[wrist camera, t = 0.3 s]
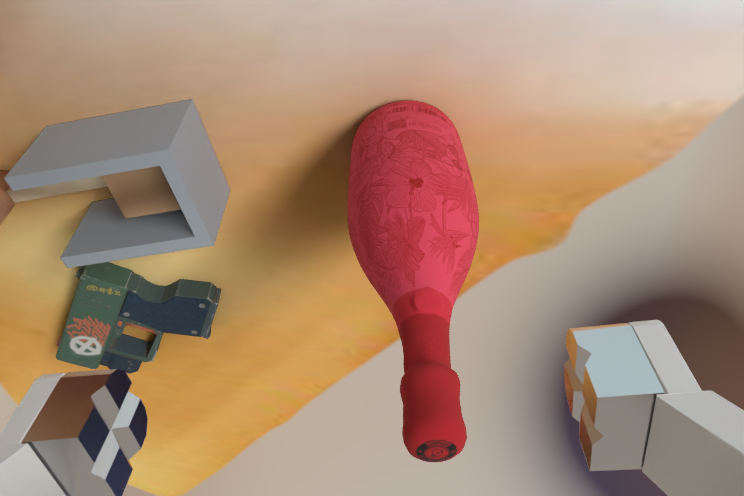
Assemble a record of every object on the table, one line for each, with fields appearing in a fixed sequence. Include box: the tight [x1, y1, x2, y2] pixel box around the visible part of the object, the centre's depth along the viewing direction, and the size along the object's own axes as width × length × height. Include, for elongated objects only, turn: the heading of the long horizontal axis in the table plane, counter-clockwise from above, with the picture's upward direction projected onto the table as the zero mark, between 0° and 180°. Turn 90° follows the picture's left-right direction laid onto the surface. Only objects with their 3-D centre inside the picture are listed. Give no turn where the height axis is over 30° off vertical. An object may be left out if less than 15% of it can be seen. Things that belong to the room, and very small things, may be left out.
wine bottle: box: [348, 101, 479, 462], centre depth 41 cm, size 10×10×30 cm
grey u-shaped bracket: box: [4, 99, 230, 268], centre depth 51 cm, size 9×13×8 cm
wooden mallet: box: [0, 166, 181, 225], centre depth 52 cm, size 5×18×5 cm, turn 100°
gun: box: [56, 262, 221, 373], centre depth 66 cm, size 3×16×15 cm
